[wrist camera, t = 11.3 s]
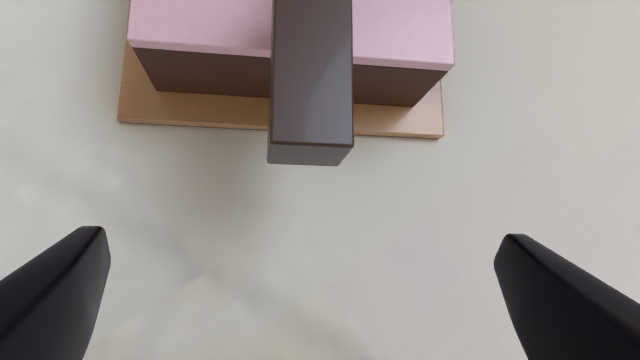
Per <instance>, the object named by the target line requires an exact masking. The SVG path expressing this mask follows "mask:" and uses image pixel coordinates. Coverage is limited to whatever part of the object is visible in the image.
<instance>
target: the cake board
mask: <svg viewBox="0 0 640 360" xmlns="http://www.w3.org/2000/svg"><path fill="white" fill-rule="evenodd" d="M130 4H131V0H130ZM129 13H130V7H129ZM128 22H129V16H128ZM127 32H128V26H127ZM268 116H269V98H259V97H243V96H227V95H211V94H195V93H179V92H162V91H156V90H155V88H154V86H153V84H152V83H151V81H150V79H149V77H148V75H147V74H146V72H145V70H144V68H143V67H142V65H141V63H140V61H139V59H138V58H137V56H136V54H135V52H134V50H133V49H132V47H131V45H130V44H129V42H128V40H127V35H126V44H125V53H124V63H123V72H122V81H121V91H120V100H119V109H118V120H119V121H120V122H127V123H147V124H166V125H186V126H205V127H225V128H244V129H264V130H268ZM354 134H361V135H380V136H400V137H419V138H441V137H443V136H444V130H443V113H442V95H441V80H440V81H439V82H438V83H437V84H436V85H435V86H434V87H433V88H432V89H431V90H430V91H429V92H428V93H427V94H426V95H425V96H424V97H423V98H422V99H421V100H420V101H419V102H418V103H417V104H416V105H415V106H414V107H401V106H385V105H369V104H354Z"/></svg>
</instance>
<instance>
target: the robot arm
mask: <svg viewBox="0 0 640 360" xmlns="http://www.w3.org/2000/svg"><path fill="white" fill-rule="evenodd" d="M110 263H111V256H110V251H109V246H108V241H107V237H106V232H105V230H104V228H103V227H101V226H82V227H80V228H78V229H76V230H75V231H73V232H72V233H70V234H69V235H67V236H66V237H64V238H63V239H61V240H60V241H58V242H57V243H56V244H54V245H53V246H51V247H50V248H48V249H47V250H45V251H44V252H42V253H41V254H39V255H38V256H36V257H35V258H33V259H32V260H30V261H29V262H27V263H26V264H24V265H23V266H21V267H20V268H18V269H17V270H15V271H14V272H13V273H11V274H10V275H8V276H7V277H5V278H4V279H2V280H1V281H0V360H82V359H83V357H84V354H85V352H86V349H87V347H88V344H89V341H90V338H91V336H92V333H93V329H94V326H95V322H96V319H97V315H98V311H99V307H100V303H101V299H102V296H103V292H104V288H105V284H106V280H107V276H108V272H109V269H110ZM494 269H495V272H496V275H497V278H498V281H499V284H500V287H501V291H502V294H503V297H504V300H505V303H506V306H507V309H508V312H509V315H510V318H511V320H512V323H513V326H514V328H515V331H516V333H517V335H518V338H519V340H520V342H521V344H522V347H523V349H524V351H525V353H526V356H527V358H528V360H640V304H639V303H637V302H635V301H634V300H632V299H630V298H629V297H627V296H626V295H624V294H622V293H621V292H619V291H617V290H616V289H614V288H612V287H611V286H609V285H607V284H606V283H604V282H603V281H601V280H599V279H598V278H596V277H594V276H593V275H591V274H589V273H588V272H586V271H584V270H583V269H581V268H580V267H578V266H576V265H575V264H573V263H571V262H570V261H568V260H566V259H565V258H563V257H561V256H560V255H558V254H557V253H555V252H553V251H552V250H550V249H548V248H547V247H545V246H543V245H542V244H540V243H538V242H537V241H535V240H534V239H532V238H530V237H529V236H527V235H525V234H507V235H506V236H505V237H504V238H503V241H502V243H501V245H500V247H499V250H498V252H497V254H496V256H495V259H494Z"/></svg>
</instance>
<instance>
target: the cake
mask: <svg viewBox="0 0 640 360" xmlns="http://www.w3.org/2000/svg"><path fill="white" fill-rule="evenodd" d="M271 19H272V0H131V4H130V13H129V22H128V32H127V40H128V42H129V44H130V45H131V47H132V49H133V50H134V52H135V54H136V56H137V58H138V59H139V61H140V63H141V65H142V67H143V68H144V70H145V72H146V74H147V75H148V77H149V79H150V81H151V83H152V84H153V86H154V88H155V90H156V91H162V92H179V93H195V94H211V95H227V96H243V97H259V98H269V84H270V52H271ZM352 21H353V104H369V105H385V106H401V107H414V106H415V105H416V104H417V103H418V102H419V101H420V100H421V99H422V98H423V97H424V96H425V95H426V94H427V93H428V92H429V91H430V90H431V89H432V88H433V87H434V86H435V85H436V84H437V83H438V82H439V81H440V80H441V79H442V78H443V76H444V75H445V74H446V73H447V72H448V71H449V70H450V69H451V68H452V67H453V66H454V65H455V56H454V41H453V26H452V10H451V0H352Z"/></svg>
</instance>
